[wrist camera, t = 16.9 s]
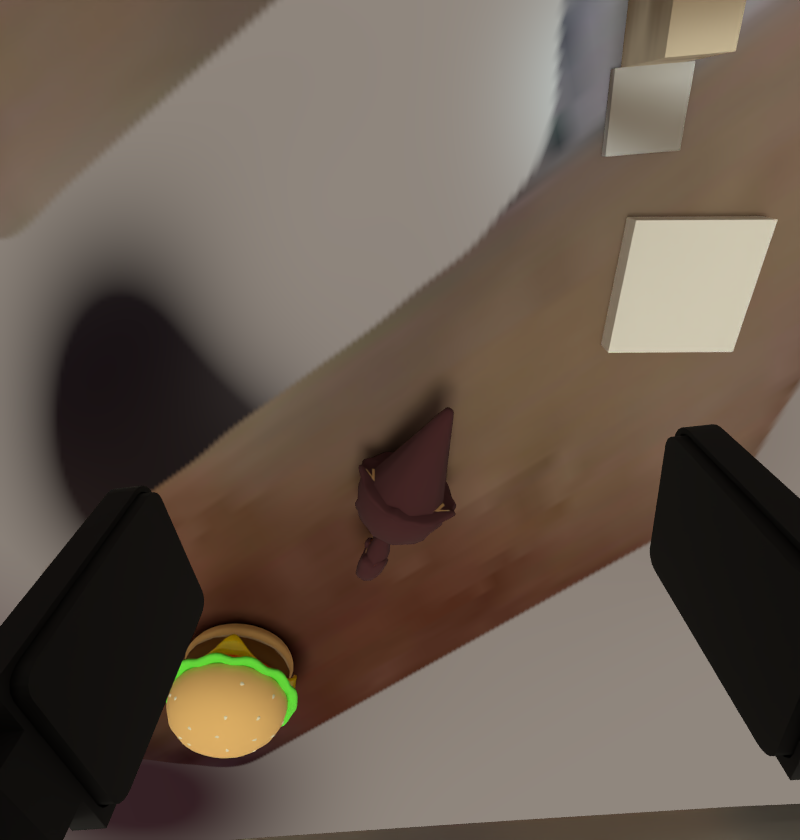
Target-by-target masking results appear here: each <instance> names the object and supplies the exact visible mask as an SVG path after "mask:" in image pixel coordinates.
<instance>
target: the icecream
mask: <svg viewBox="0 0 800 840" xmlns="http://www.w3.org/2000/svg"><path fill="white" fill-rule="evenodd" d="M453 414H454V412H453V410H452V409H451V408H448V407H447V408H445V409H444V410H443V411H441V412H440V413H439V414H438V415H437V416H435V417H434V418H433V419H432V420H431V421H430V422H429V423H427V424H426V425H425V426H424V427H423V428H422V429H421V430H419V431H418V432H417V433H416V434H415V435H414V436H412V437H411V438H410V439H409V440H408V441H407V442H405V443H404V444H403V445H402V446H401V447H399V448H398V449H397V450H396V451H395V452H394V453H393V452H384V453H381V454H379V455H377V456H375V457H373V458H367V459H364V460H363V463H362V465H359V472H360V476H361V479H360V482H359V486H358V499H357V501H356V502H355V506H356V509H357V510H358V514H359V517H360V520H361V521H362V522H363V523H364V525H365V526H366V527H367V528H368V530H369V531H370V533H371V534H372V535H373V538H368V539H367V540H366V542H365V550H364V552H363V554H362V556H361V558H360V560H359V562H358V566H357V570H356V575H357V576H358V577H359V578H360V579H362V580H364V581H367V580H372V579H374V578H376V577H377V576H378V575H379V574H380V573H381V572H382V570H383V569H384V567H385V566H386V564H387V561H388V559H387V557H388V554H389V552H390V544H391V545H403V544H415V543H418V542H420V541H423V540H424V539H425V538H426V537H427V536H428V535H429V534H430V533H431V532H433V531H434V530H435V529H437V528H438V527H440V526H441V525H442V522H443V521H445V520H447V519H449V518H451V517H453V516H455V512H454V509H455V508H456V504H455V502H454V500H453V499H452V497H451V493H450V490H449V486H448V484H447V482H446V473H447V465H448V456H449V448H450V439H451V432H452V424H453Z"/></svg>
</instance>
